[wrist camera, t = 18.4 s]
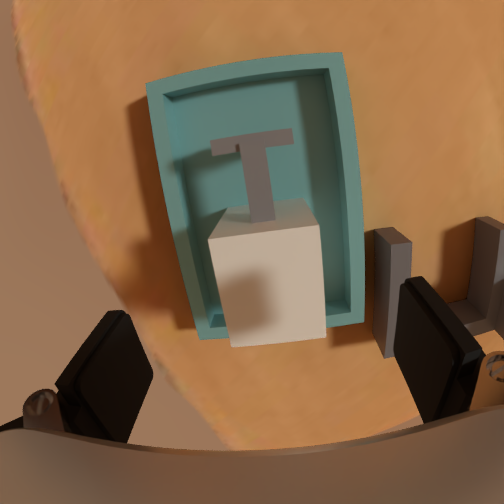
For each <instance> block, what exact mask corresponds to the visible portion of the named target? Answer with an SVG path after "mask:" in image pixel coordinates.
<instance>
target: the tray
mask: <svg viewBox="0 0 504 504" xmlns="http://www.w3.org/2000/svg"><path fill="white" fill-rule="evenodd" d="M146 91H147V98H148V105H149V112H150V119H151V125H152V132H153V138H154V144H155V149H156V155H157V161H158V166H159V172H160V177H161V182H162V187H163V192H164V197H165V202H166V207H167V212H168V216H169V221H170V226H171V230H172V235H173V239H174V243H175V248H176V252H177V256H178V260H179V264H180V269H181V273H182V277H183V281H184V284H185V288H186V292H187V296H188V300H189V304H190V307H191V311H192V315H193V318H194V322H195V325H196V329H197V332H198V336H199V339H200V340H207V339H222V338H229V334H228V330H227V326H226V322H225V317H224V313H223V308H222V304H221V300H220V295H219V291H218V286H217V281H216V277H215V272H214V267H213V263H212V258H211V253H210V248H209V243H208V238H209V237H210V235H211V233H212V232H213V230H214V229H215V227H216V226H217V224H218V222H219V221H220V219H221V218H222V216H223V215H224V213H225V211H226V210H227V208H229V207H235V206H242V205H249V203H248V197H247V191H246V184H245V178H244V172H243V166H242V159H241V153H240V152H234V153H228V154H222V155H216V156H212V151H211V145H210V140H215V139H220V138H226V137H232V136H238V135H244V134H251V133H257V132H264V131H272V130H280V129H288V128H292V132H293V139H294V144H291V145H283V146H275V147H267V148H266V154H267V161H268V168H269V174H270V181H271V188H272V195H273V201H279V200H287V199H295V198H304V200H305V201H306V203H307V205H308V207H309V208H310V210H311V212H312V213H313V215H314V217H315V219H316V220H317V222H318V224H319V228H320V239H321V251H322V264H323V279H324V295H325V315H326V328H328V327H335V326H342V325H349V324H355V323H362V322H364V308H365V251H364V223H363V205H362V191H361V179H360V168H359V158H358V149H357V140H356V132H355V125H354V117H353V111H352V104H351V98H350V92H349V86H348V80H347V75H346V69H345V64H344V59H343V54H342V52H338V53H314V54H299V55H288V56H278V57H269V58H261V59H254V60H247V61H241V62H235V63H229V64H224V65H218V66H213V67H208V68H204V69H199V70H195V71H190V72H186V73H182V74H178V75H174V76H170V77H167V78H163V79H159V80H156V81H152V82H149V83H146Z"/></svg>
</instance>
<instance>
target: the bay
mask: <svg viewBox="0 0 504 504" xmlns="http://www.w3.org/2000/svg"><path fill="white" fill-rule="evenodd" d="M374 246H375V283H374V314H373V332H372V333H373V335H374V337H375V340H376V342H377V344H378V346H379V348H380V350H381V353H382V355H383V357H384V359H385V358H390V357H394V352H393V344H394V337H395V329H396V321H397V312H398V302H399V290H400V285H401V284H402V283H404V281H405V279H406V278H411V261H412V242H411V241H410V240H409V239H407V238H406V237H405V236H404V235H402V234H401V233H400V232H398V231H397V230H396V229H395V228H393V227H390V228H381V229H374ZM447 305H448V306H449V307H450V309H451V310H452V311H453V312H454V313H455V315H456V316H457V317H458V318H459V319H460V321H461V322H462V323H463V324H464V326H465V327H466V328H467V329H468V331H469V332H470V333H471V334H472V336H476V335H479V334H482V333H486V332H489V331H492V330H495V331H496V332H497V333H498V334H499V335H500V336H501V337H502V338H503V339H504V224H503V223H501V222H499V221H497V220H495V219H493V218H491V217H488V216H487V217H478V218H476V222H475V238H474V249H473V259H472V267H471V275H470V282H469V289H468V295H467V299H465V300H461V301H457V302H453V303H448V304H447Z"/></svg>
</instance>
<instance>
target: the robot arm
mask: <svg viewBox="0 0 504 504" xmlns="http://www.w3.org/2000/svg"><path fill="white" fill-rule="evenodd" d="M393 352H394V356H395V358H396V360H397V363H398V365H399V367H400V369H401V371H402V374H403V376H404V378H405V380H406V383H407V385H408V387H409V389H410V392H411V394H412V396H413V399H414V401H415V403H416V406H417V408H418V411H419V413H420V415H421V418H422V420H423V423H424V424H422V425H418V426H414V427H410V428H406V429H402V430H398V431H394V432H390V433H385V434H380V435H376V436H371V437H366V438H361V439H355V440H349V441H343V442H337V443H330V444H323V445H315V446H306V447H296V448H285V449H270V450H246V451H209V450H187V449H172V448H160V447H151V446H142V445H133V444H127V442H128V439H129V436H130V434H131V431H132V429H133V426H134V423H135V421H136V419H137V416H138V413H139V411H140V408H141V406H142V404H143V401H144V399H145V396H146V394H147V391H148V389H149V386H150V384H151V381H152V379H153V370H152V367H151V365H150V363H149V361H148V359H147V356H146V354H145V352H144V349H143V347H142V344H141V342H140V340H139V337H138V335H137V332H136V330H135V327H134V325H133V322H132V320H131V317H130V315H129V314H126V313H125V311H123V310H113V311H108V312H107V313H106V314H105V315H104V317H103V318H102V319H101V320H100V322H99V323H98V325H97V326H96V327H95V328H94V330H93V331H92V332H91V334H90V335H89V337H88V338H87V339H86V340H85V342H84V343H83V344H82V346H81V347H80V348H79V350H78V351H77V353H76V354H75V356H74V357H73V358H72V360H71V361H70V362H69V364H68V365H67V367H66V368H65V369H64V371H63V372H62V374H61V375H60V377H59V378H58V379H57V381H56V383H55V385H56V387H57V388H58V390H59V391H58V392H57V394H56V393H55V392H54V391H53V390H51V389H42V390H38V391H36V392H34V393H33V394H31V395H30V396H29V397H28V398H27V400H26V401H25V403H24V405H23V416H22V417H19V418H17V419H15V420H13V421H11V422H8V423H6V424H4V425H2V426H0V504H504V351H495V352H491V353H489V354H487V355H485V353H484V352H483V350H482V347H481V346H480V345H479V343H478V342H477V341H476V340H475V338H474V337H473V336H472V334H471V333H470V332H469V331H468V329H467V328H466V327H465V326H464V324H463V323H462V322H461V321H460V319H459V318H458V317H457V316H456V315H455V313H454V312H453V311H452V310H451V309H450V307H449V306H448V305H447V304H446V303H445V302H444V300H443V299H442V298H441V297H440V296H439V295H438V293H437V292H436V291H435V290H434V289H433V288H432V287H431V285H430V284H429V283H428V282H427V281H426V280H425V279H424V278H423V277H422V276H418V277H412V278H406V279H405V281H404V283H402V284H401V285H400V290H399V302H398V312H397V321H396V329H395V337H394V344H393Z"/></svg>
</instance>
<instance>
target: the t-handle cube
mask: <svg viewBox="0 0 504 504" xmlns="http://www.w3.org/2000/svg"><path fill="white" fill-rule="evenodd" d="M291 144H294V139H293V132H292V128H288V129H280V130H272V131H264V132H257V133H251V134H244V135H238V136H232V137H226V138H220V139H215V140H210V145H211V151H212V156H216V155H222V154H228V153H234V152H240V153H241V159H242V166H243V172H244V178H245V184H246V191H247V197H248V203H249V205H242V206H235V207H229V208H227V210H226V211H225V213H224V215H223V216H222V218H221V219H220V221H219V222H218V224H217V226H216V227H215V229H214V230H213V232H212V233H211V235H210V237H209V238H208V243H209V248H210V253H211V258H212V263H213V267H214V272H215V277H216V281H217V286H218V291H219V295H220V300H221V304H222V308H223V313H224V317H225V322H226V326H227V330H228V334H229V339H230V343H231V347H241V346H253V345H264V344H274V343H284V342H293V341H301V340H309V339H317V338H324V337H326V315H325V295H324V279H323V264H322V251H321V239H320V228H319V224H318V222H317V220H316V219H315V217H314V215H313V213H312V212H311V210H310V208H309V207H308V205H307V203H306V201H305V200H304V198H295V199H287V200H279V201H273V195H272V188H271V181H270V174H269V168H268V161H267V154H266V148H267V147H275V146H283V145H291Z"/></svg>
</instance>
